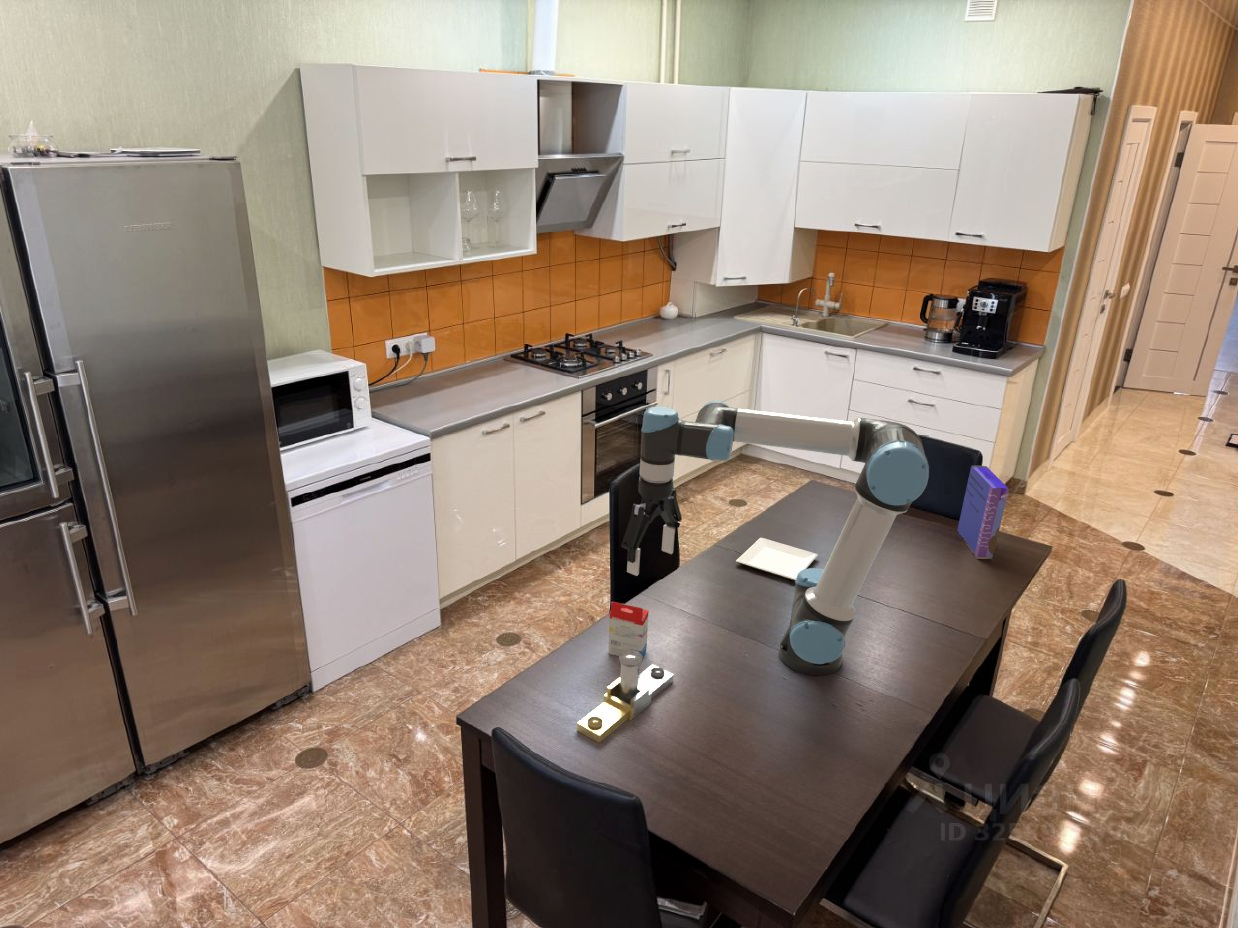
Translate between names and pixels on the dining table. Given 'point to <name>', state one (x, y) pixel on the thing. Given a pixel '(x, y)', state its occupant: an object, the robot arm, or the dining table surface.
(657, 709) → the dining table surface
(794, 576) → the plate
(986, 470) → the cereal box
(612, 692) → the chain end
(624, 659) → the pin
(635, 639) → the ink box
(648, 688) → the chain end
